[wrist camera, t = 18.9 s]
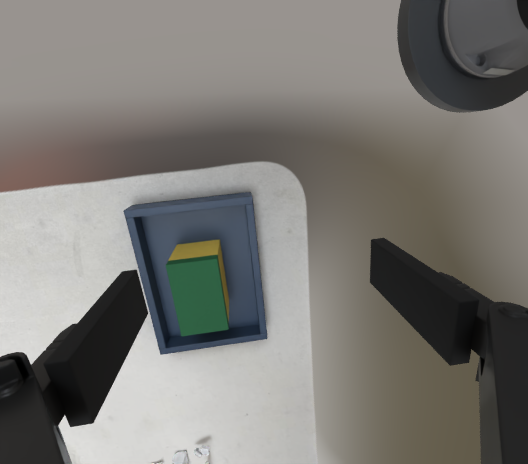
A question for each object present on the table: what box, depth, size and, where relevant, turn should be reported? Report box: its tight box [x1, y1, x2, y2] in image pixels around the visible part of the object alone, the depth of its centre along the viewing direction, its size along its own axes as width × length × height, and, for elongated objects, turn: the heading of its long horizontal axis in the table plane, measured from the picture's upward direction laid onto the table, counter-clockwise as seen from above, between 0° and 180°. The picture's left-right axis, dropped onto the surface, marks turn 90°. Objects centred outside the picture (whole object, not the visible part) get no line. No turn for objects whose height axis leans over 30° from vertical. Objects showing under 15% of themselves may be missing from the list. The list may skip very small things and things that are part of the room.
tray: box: [124, 192, 267, 354], centre depth 40 cm, size 22×16×3 cm
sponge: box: [166, 239, 229, 336], centre depth 38 cm, size 10×6×7 cm, turn 5°
